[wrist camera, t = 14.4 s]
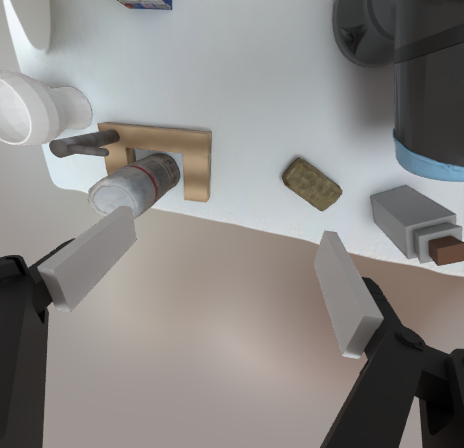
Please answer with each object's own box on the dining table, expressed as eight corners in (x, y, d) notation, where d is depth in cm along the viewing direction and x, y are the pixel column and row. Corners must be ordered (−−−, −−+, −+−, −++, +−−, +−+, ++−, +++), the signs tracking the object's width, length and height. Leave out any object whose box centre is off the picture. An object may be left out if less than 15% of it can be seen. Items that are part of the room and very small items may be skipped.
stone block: (297, 154, 45) (301, 159, 41) (339, 185, 47) (347, 193, 43) (279, 177, 48) (281, 184, 44) (320, 205, 50) (325, 215, 46)
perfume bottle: (374, 222, 50) (424, 277, 35) (370, 195, 47) (422, 242, 32) (408, 213, 48) (478, 267, 33) (406, 185, 46) (481, 229, 30)
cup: (67, 140, 50) (-3, 154, 37) (38, 85, 45) (-54, 79, 32) (107, 129, 48) (49, 140, 35) (82, 71, 43) (2, 58, 30)
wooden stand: (108, 122, 47) (33, 132, 32) (211, 132, 45) (185, 147, 30) (119, 185, 54) (62, 219, 38) (209, 196, 52) (187, 236, 37)
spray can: (143, 148, 49) (76, 175, 31) (180, 153, 48) (133, 182, 31) (146, 185, 53) (89, 227, 35) (181, 190, 52) (139, 234, 35)
